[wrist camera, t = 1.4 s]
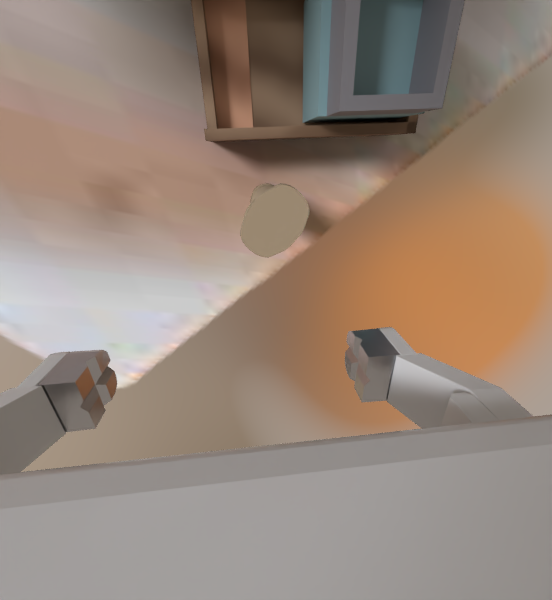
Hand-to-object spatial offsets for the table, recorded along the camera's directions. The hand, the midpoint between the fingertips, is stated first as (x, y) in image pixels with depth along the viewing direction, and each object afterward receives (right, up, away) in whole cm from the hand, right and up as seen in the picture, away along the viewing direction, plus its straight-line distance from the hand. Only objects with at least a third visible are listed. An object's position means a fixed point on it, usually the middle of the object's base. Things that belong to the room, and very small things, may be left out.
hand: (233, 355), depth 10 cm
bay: (+5, +27, +22) cm, 35 cm away
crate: (+9, +27, +21) cm, 35 cm away
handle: (0, +16, +28) cm, 32 cm away
